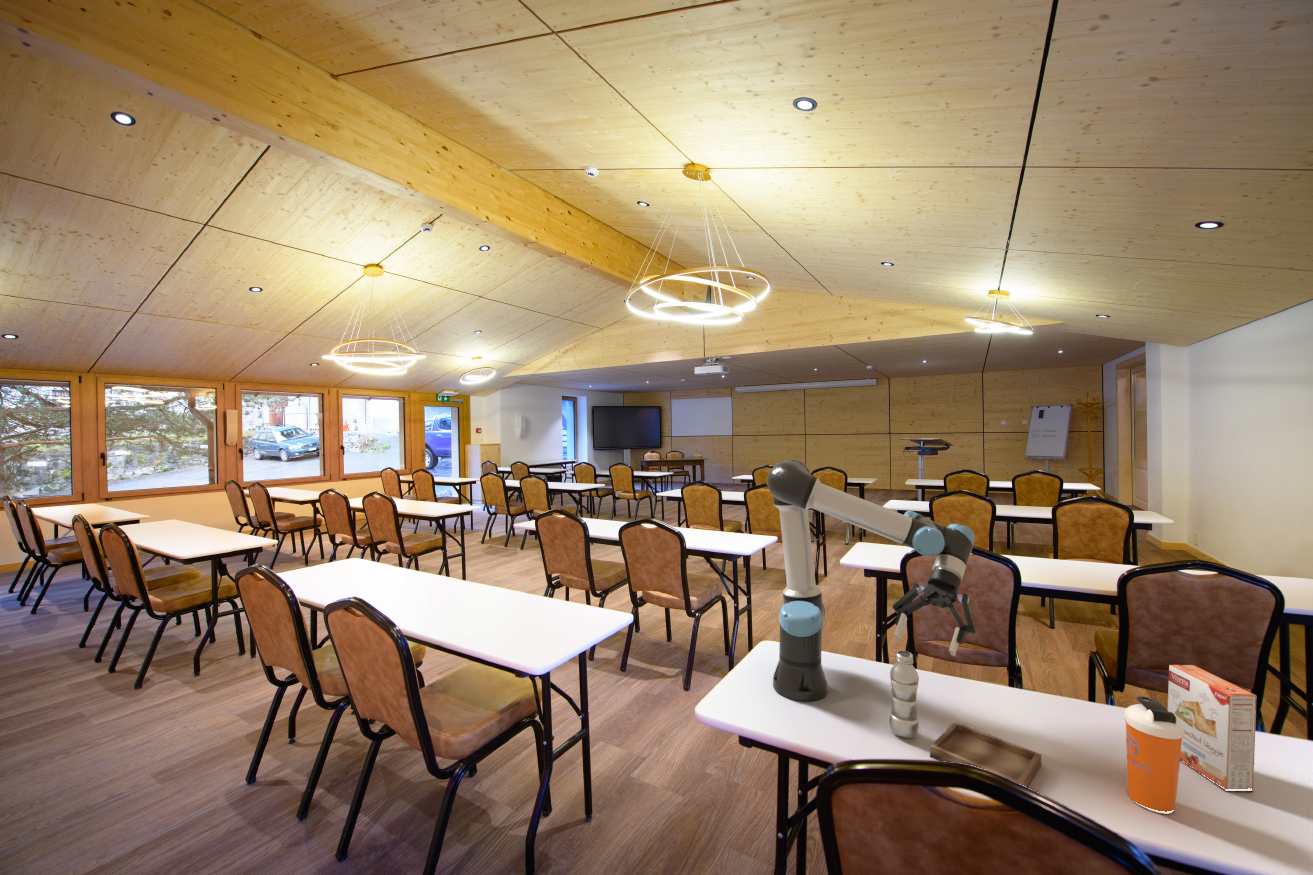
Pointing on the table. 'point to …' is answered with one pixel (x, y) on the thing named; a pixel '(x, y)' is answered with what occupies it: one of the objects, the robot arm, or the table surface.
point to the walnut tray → (986, 753)
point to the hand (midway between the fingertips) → (923, 645)
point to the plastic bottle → (904, 696)
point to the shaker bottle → (1153, 754)
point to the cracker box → (1214, 725)
